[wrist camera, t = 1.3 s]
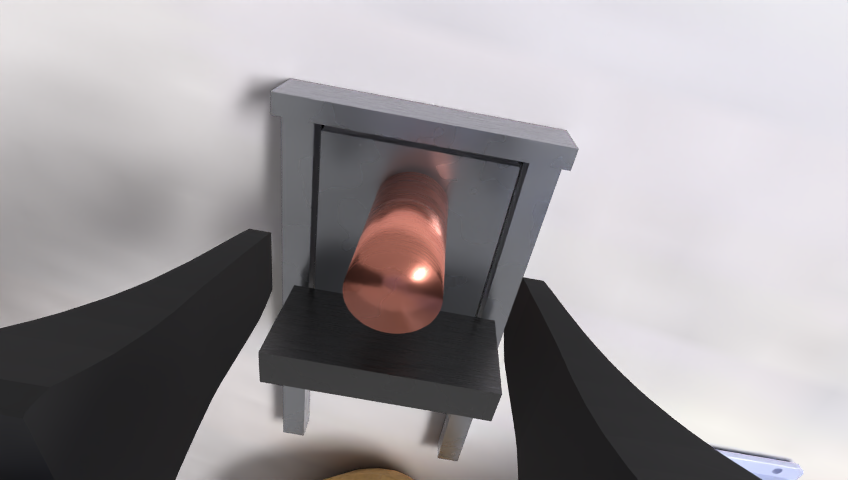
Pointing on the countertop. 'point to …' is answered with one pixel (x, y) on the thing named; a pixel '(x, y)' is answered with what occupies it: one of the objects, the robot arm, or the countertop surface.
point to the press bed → (423, 124)
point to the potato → (371, 475)
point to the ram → (397, 278)
